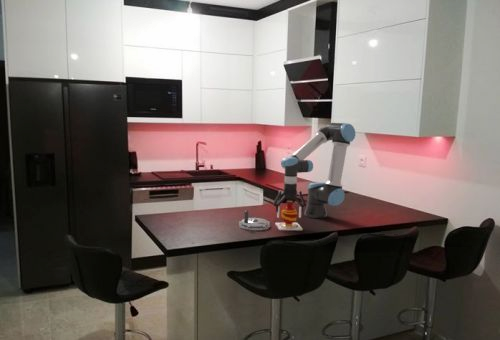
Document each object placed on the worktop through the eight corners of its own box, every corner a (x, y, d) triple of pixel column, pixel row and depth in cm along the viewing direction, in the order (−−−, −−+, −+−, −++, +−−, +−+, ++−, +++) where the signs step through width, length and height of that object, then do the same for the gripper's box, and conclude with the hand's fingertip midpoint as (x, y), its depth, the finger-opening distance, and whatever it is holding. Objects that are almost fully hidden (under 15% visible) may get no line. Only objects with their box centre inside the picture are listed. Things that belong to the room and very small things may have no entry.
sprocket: (274, 225, 250) (275, 211, 249) (253, 229, 240) (253, 214, 238) (255, 219, 264) (256, 205, 263) (234, 222, 254) (234, 208, 253)
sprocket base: (267, 222, 263) (267, 220, 263) (272, 230, 244) (272, 229, 244) (237, 222, 260) (237, 220, 260) (240, 230, 242) (240, 229, 242)
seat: (297, 224, 261) (297, 222, 261) (302, 230, 247) (302, 228, 247) (275, 224, 259) (275, 222, 259) (279, 230, 245) (279, 228, 245)
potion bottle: (284, 222, 260) (285, 198, 258) (299, 224, 255) (301, 201, 253) (277, 225, 251) (278, 201, 249) (292, 228, 246) (293, 203, 244)
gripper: (309, 182, 255) (307, 215, 258) (269, 181, 252) (267, 215, 255) (312, 184, 247) (310, 218, 250) (271, 183, 244) (269, 218, 247)
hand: (289, 217), depth 252 cm, fingers open, 13 cm apart
